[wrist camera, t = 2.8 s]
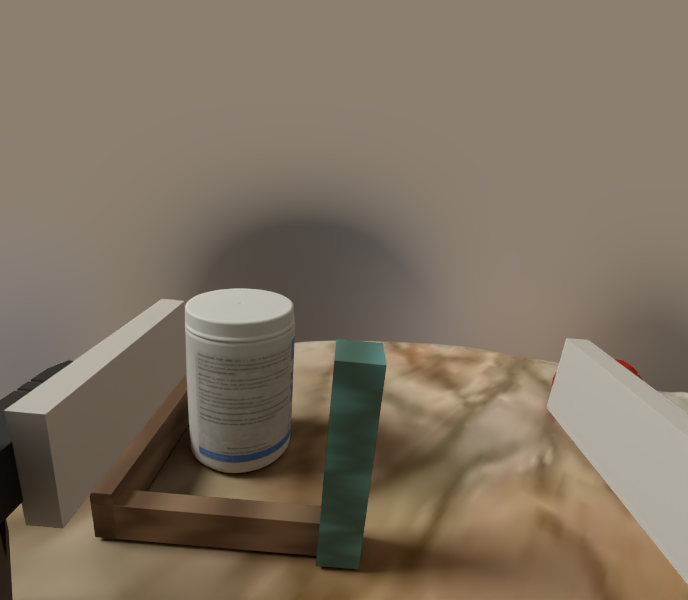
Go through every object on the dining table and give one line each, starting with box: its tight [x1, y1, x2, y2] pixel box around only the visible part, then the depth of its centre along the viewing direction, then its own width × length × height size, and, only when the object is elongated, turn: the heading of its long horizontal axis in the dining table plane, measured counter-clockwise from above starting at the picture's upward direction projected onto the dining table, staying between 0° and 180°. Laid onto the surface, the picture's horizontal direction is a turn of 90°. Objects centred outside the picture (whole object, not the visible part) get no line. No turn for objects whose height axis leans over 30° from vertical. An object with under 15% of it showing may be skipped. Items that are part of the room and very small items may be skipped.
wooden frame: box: [90, 339, 386, 569], centre depth 35 cm, size 19×19×16 cm
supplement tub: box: [185, 289, 295, 473], centre depth 38 cm, size 10×10×15 cm
